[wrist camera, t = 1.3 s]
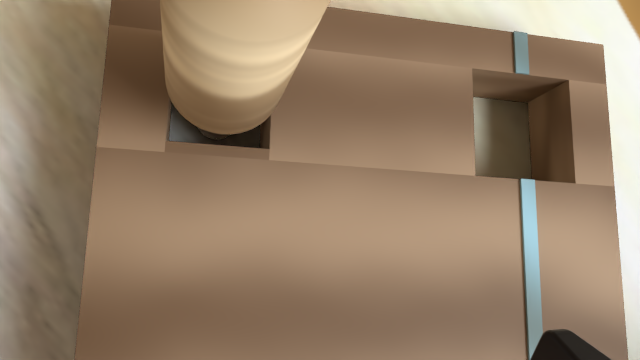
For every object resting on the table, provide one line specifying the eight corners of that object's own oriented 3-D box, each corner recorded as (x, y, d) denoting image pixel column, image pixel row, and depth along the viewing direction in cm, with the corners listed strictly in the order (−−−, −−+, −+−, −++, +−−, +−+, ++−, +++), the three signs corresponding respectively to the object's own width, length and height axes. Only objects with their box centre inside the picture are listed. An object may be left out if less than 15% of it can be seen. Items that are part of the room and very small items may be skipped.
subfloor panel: (585, 477, 24) (641, 502, 21) (73, 502, 20) (55, 538, 17) (559, 70, 28) (604, 43, 25) (121, 16, 24) (113, -24, 21)
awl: (261, 169, 24) (337, 50, 12) (164, 162, 23) (149, 28, 11) (265, 81, 25) (339, -109, 13) (171, 71, 24) (163, -141, 12)
